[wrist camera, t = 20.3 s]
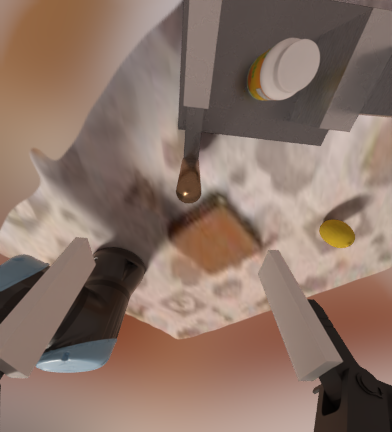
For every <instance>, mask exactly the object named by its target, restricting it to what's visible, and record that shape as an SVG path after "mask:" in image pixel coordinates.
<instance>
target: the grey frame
mask: <svg viewBox="0 0 392 432" xmlns="http://www.w3.org/2000/svg"><path fill="white" fill-rule="evenodd" d="M188 17H189V0H184V8H183V30H182V52H181V74H180V97H179V119H178V129H181V130H186V115H187V106H183V105H184V87H185V70H186V52H187V35H188ZM288 38H299V39H309V40H312V41H313V42H315V43H316V45H317V46H318V48H319V52H320V63H319V67H318V70H317V72H316V74H315V76H314V78H313V79H312V80H311V82H310V83H309V84H308V85H307V86H306V87H304V88H303V89H301V90H299V91H298V92H296V93H295V94H294V95H293V96H291V97H289V98H287V99H284V100H257V99H255V98H254V97H252V95H251V94H250V93H249V91H248V88H247V75H248V72H249V69H250V67H251V65H252V63H253V62H254V61H255V60H256V59H257V58H258V57H259V56H260V55H262V54H263V53H265V52H266V51H268V50H269V49H271V48H272V47H273V46H275V45H276V44H278V43H279V42H281V41H283V40H285V39H288ZM358 115H368V116H380V117H392V11H390V10H384V9H379V8H371V7H366V6H360V5H355V4H349V3H343V2H338V1H332V0H222V4H221V12H220V20H219V28H218V36H217V44H216V52H215V60H214V68H213V76H212V84H211V92H210V99H209V107H208V109H204V113H203V122H202V131H201V132H207V133H215V134H224V135H232V136H240V137H249V138H257V139H266V140H274V141H283V142H291V143H299V144H308V145H316V146H321V144H322V142H323V140H324V138H325V136H326V134H327V132H328V130H329V129H330V130H338V131H346V132H350V130H351V128H352V126H353V124H354V122H355V121H356V119H357V117H358Z"/></svg>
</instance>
